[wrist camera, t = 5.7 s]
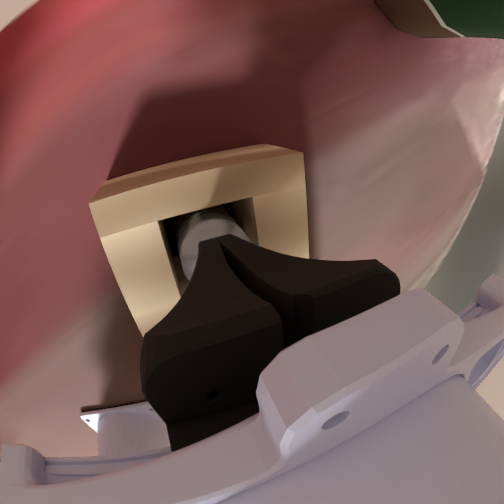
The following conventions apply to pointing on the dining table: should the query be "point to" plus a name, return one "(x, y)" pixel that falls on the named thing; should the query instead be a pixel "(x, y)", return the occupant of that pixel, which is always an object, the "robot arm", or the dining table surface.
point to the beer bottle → (446, 17)
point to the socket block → (191, 199)
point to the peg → (202, 232)
